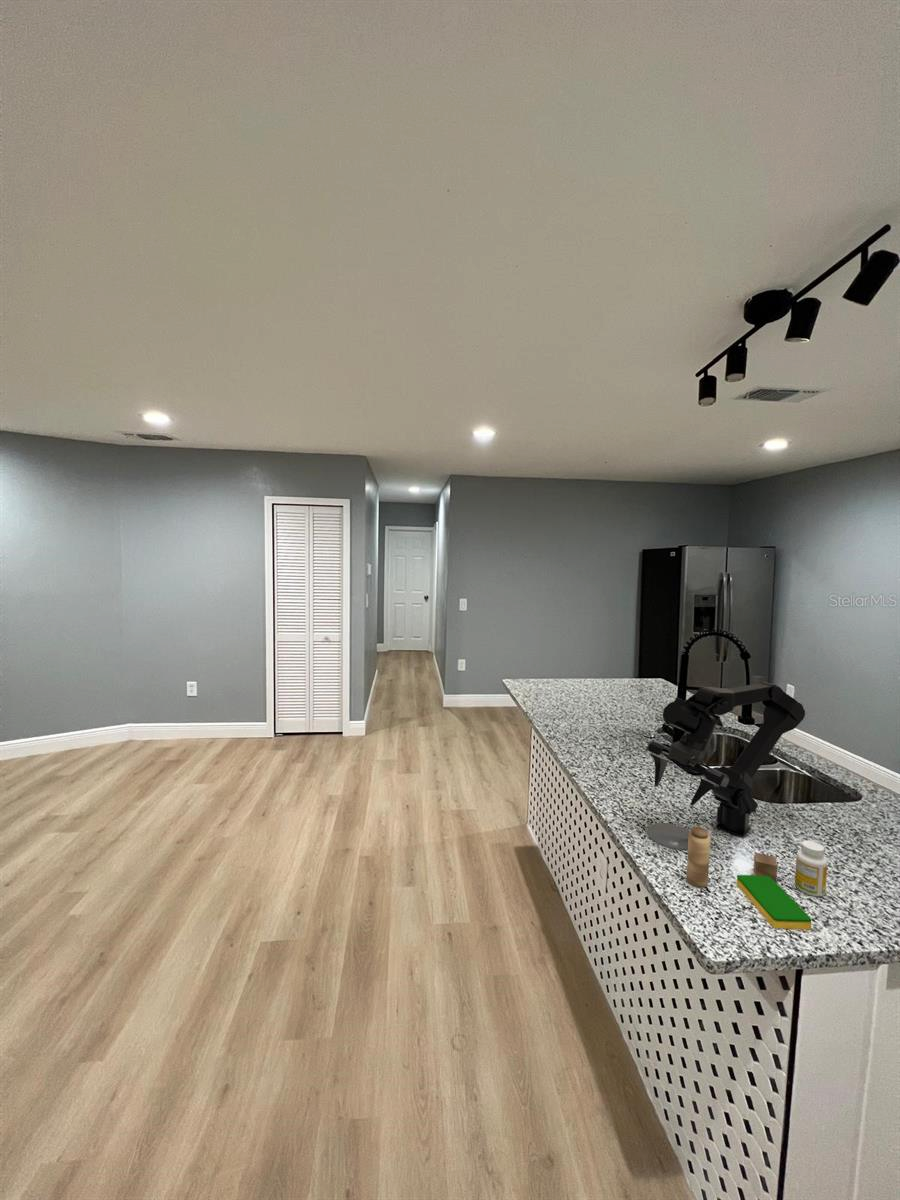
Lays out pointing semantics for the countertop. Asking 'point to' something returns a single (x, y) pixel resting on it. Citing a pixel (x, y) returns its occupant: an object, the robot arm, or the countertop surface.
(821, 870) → the supplement bottle
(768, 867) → the walnut block
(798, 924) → the dish sponge
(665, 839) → the slate coaster
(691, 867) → the brown cylinder
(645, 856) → the countertop surface
